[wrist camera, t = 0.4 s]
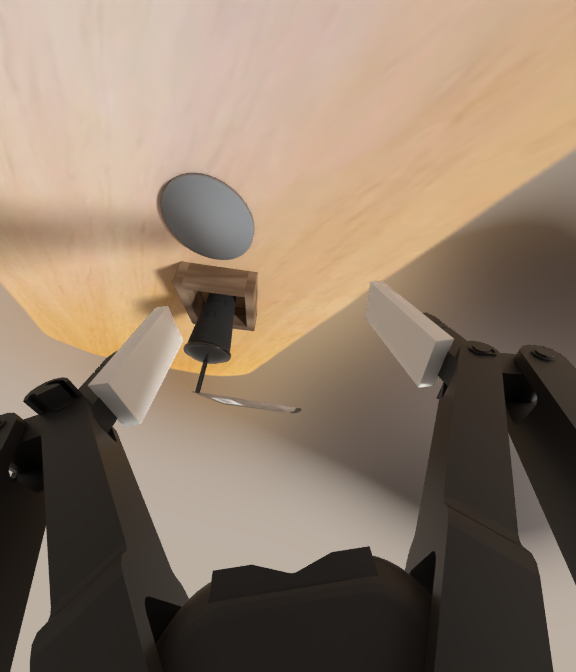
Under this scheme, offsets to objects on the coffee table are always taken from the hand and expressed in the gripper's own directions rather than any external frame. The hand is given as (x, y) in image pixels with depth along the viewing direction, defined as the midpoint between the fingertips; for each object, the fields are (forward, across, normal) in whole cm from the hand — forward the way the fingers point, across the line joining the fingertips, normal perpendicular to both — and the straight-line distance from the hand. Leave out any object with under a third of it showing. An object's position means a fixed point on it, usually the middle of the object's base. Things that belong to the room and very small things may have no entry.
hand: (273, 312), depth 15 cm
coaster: (+22, -7, +3) cm, 23 cm away
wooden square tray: (+29, -10, -10) cm, 32 cm away
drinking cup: (+29, -10, -10) cm, 32 cm away
